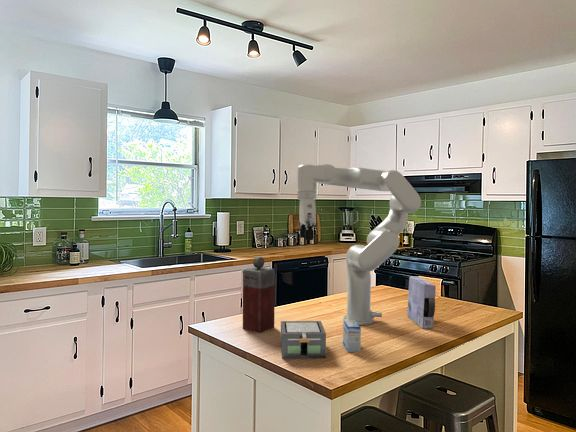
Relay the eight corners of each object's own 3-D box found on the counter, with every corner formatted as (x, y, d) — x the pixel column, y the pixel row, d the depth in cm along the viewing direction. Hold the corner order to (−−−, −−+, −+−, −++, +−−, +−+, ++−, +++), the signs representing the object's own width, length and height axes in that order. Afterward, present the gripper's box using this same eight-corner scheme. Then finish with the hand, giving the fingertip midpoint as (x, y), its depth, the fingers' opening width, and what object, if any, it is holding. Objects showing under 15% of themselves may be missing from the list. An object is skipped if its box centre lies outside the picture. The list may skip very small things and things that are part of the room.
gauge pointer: (308, 341, 140) (308, 338, 140) (309, 342, 139) (309, 339, 139) (299, 341, 140) (299, 338, 140) (299, 342, 139) (299, 339, 139)
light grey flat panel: (316, 325, 153) (316, 322, 153) (321, 339, 139) (321, 335, 139) (285, 326, 153) (285, 322, 153) (287, 339, 139) (287, 335, 138)
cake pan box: (435, 329, 172) (436, 284, 171) (423, 330, 171) (424, 285, 171) (417, 316, 191) (418, 275, 190) (406, 316, 191) (407, 275, 190)
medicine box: (342, 344, 154) (342, 320, 154) (355, 344, 155) (355, 319, 154) (347, 352, 147) (347, 326, 146) (360, 352, 147) (361, 326, 146)
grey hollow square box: (320, 343, 155) (320, 320, 155) (325, 358, 141) (326, 333, 141) (280, 343, 155) (280, 321, 154) (282, 358, 140) (282, 334, 140)
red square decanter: (253, 322, 180) (253, 254, 179) (274, 327, 173) (275, 256, 172) (238, 327, 173) (238, 256, 172) (259, 333, 166) (260, 259, 165)
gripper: (321, 196, 168) (321, 240, 169) (311, 195, 185) (310, 236, 186) (302, 195, 166) (301, 241, 167) (293, 195, 183) (293, 236, 184)
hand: (306, 238), depth 176 cm, fingers open, 9 cm apart
